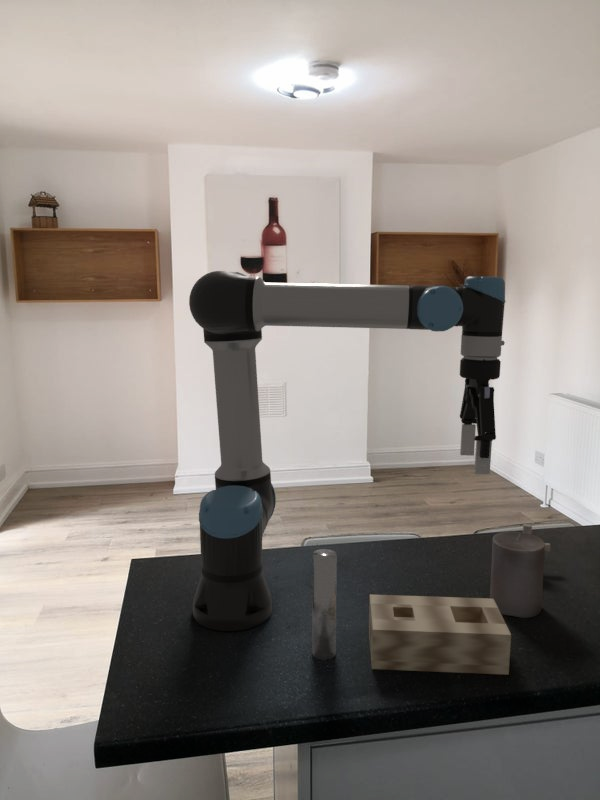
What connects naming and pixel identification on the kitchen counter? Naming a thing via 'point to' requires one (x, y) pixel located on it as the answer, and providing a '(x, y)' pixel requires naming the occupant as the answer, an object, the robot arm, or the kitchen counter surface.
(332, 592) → the pin
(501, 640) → the hole block
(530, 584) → the pillar candle
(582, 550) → the kitchen counter surface
